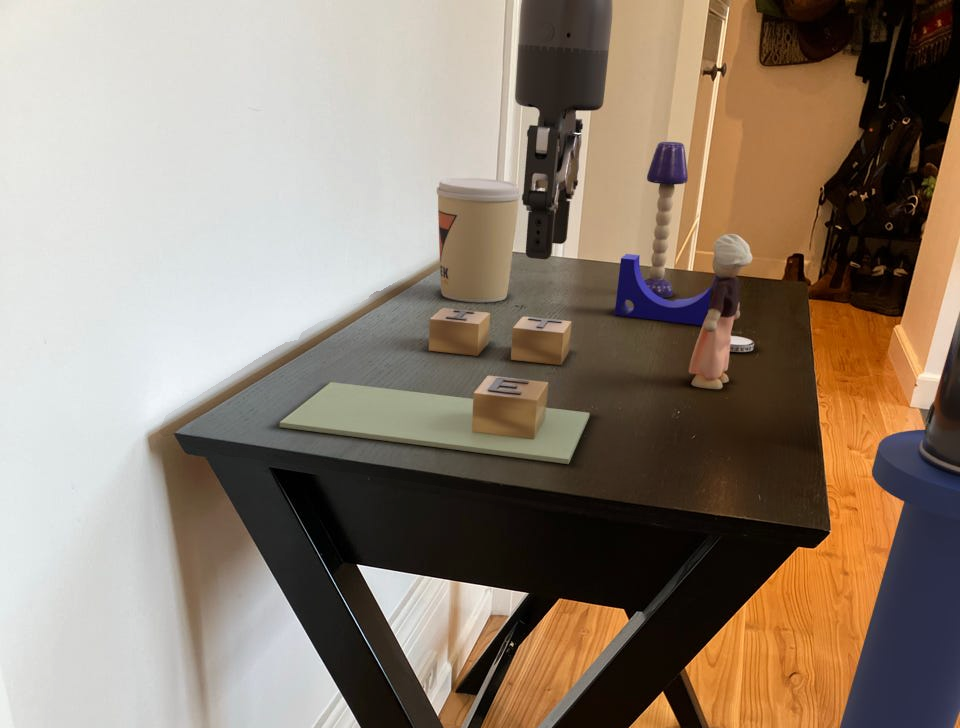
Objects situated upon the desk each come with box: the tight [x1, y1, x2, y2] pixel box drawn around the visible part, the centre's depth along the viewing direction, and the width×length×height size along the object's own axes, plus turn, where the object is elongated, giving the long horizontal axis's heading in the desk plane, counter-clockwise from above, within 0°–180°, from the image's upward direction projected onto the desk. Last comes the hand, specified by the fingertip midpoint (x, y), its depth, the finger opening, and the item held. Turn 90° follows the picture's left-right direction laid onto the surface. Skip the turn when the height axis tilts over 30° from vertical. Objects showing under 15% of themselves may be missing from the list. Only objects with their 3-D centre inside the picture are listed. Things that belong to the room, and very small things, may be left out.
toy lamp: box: [644, 141, 689, 299], centre depth 118 cm, size 5×5×17 cm
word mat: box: [279, 381, 591, 465], centre depth 78 cm, size 22×11×1 cm, turn 77°
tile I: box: [428, 307, 491, 357], centre depth 97 cm, size 5×5×3 cm
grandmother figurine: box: [688, 233, 753, 390], centre depth 87 cm, size 8×4×13 cm, turn 162°
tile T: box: [510, 316, 572, 366], centre depth 95 cm, size 5×5×3 cm
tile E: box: [472, 374, 549, 439], centre depth 76 cm, size 5×5×3 cm
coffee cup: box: [436, 177, 522, 304], centre depth 114 cm, size 9×9×12 cm
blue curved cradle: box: [614, 253, 718, 326], centre depth 111 cm, size 12×4×6 cm, turn 72°
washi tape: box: [730, 335, 755, 353], centre depth 102 cm, size 4×4×1 cm
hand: (546, 250), depth 91 cm, fingers open, 8 cm apart
